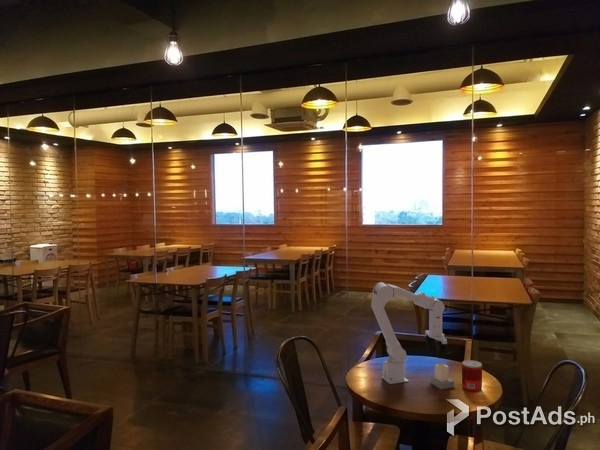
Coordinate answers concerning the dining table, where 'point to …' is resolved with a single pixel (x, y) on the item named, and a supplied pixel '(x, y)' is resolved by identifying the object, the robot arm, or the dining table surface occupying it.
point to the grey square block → (442, 383)
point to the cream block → (441, 372)
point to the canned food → (472, 376)
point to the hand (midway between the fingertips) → (435, 354)
